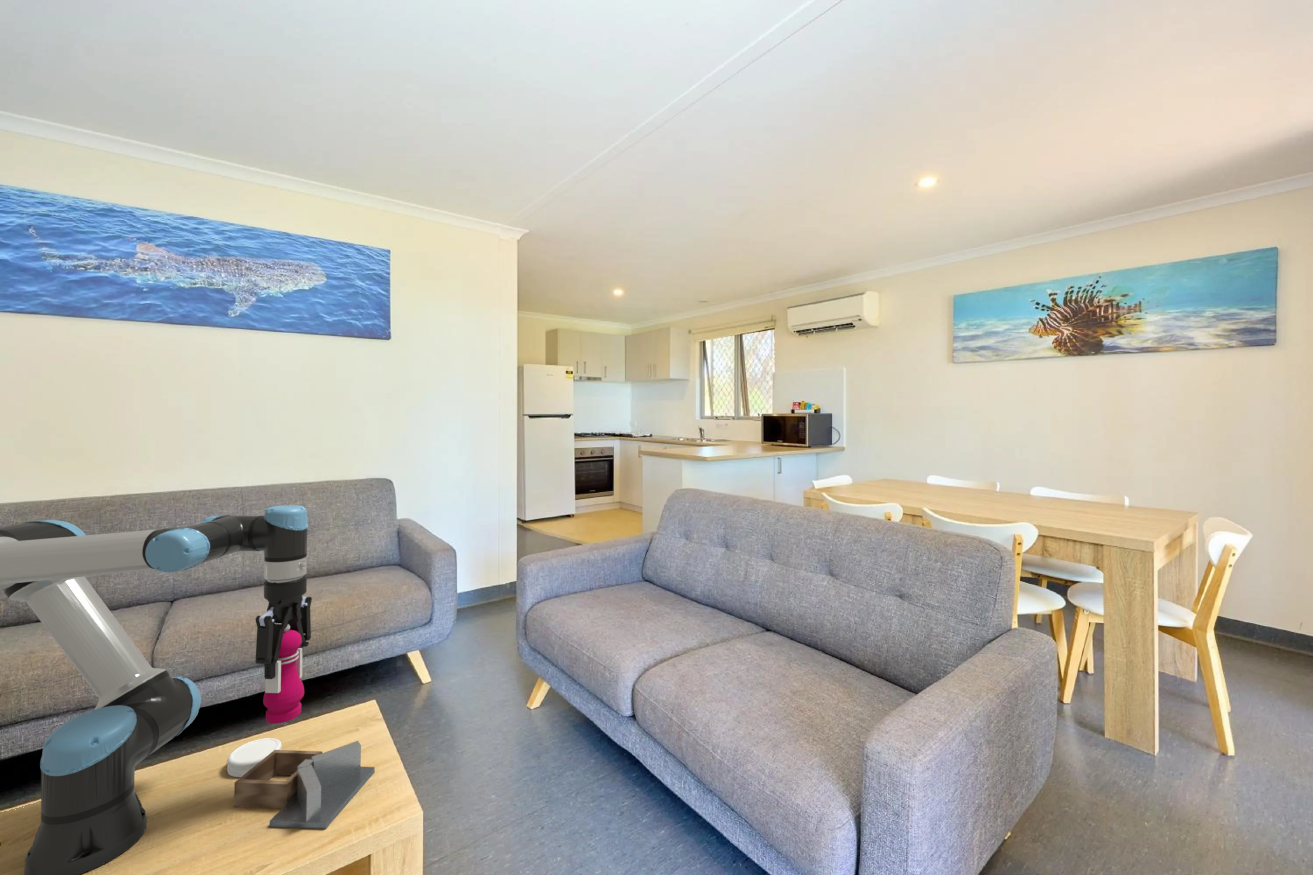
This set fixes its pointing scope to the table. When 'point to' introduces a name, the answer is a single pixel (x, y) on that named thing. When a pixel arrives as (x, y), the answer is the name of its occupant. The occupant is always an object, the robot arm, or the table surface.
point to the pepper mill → (286, 682)
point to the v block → (324, 788)
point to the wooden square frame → (266, 792)
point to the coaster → (250, 755)
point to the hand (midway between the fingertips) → (284, 684)
